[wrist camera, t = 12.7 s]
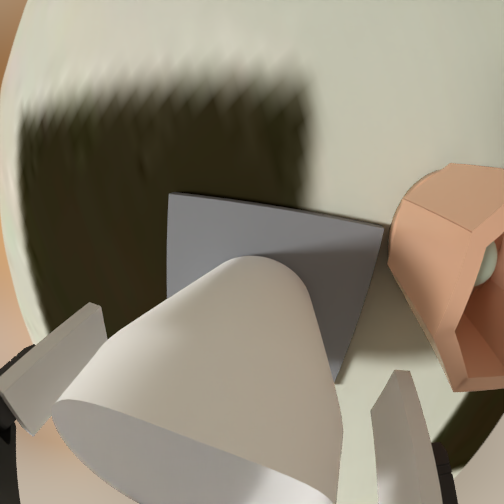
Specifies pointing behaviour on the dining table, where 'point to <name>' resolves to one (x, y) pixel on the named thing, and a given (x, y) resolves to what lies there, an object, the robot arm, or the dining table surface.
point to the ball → (487, 264)
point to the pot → (454, 269)
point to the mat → (279, 254)
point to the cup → (213, 396)
